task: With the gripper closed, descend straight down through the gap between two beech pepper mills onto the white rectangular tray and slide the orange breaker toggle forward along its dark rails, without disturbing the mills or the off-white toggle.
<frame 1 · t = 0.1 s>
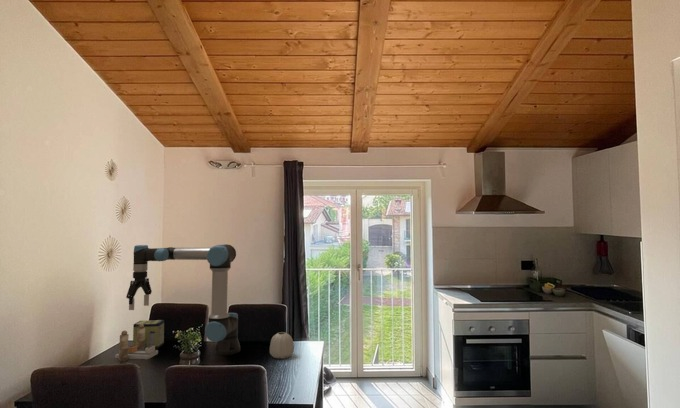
hand: (139, 307, 227), 28 cm above the table, fingers open, 13 cm apart
vase: (281, 357, 223), on the table
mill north: (123, 360, 218), on the table
breaker B: (132, 348, 227), point 4 cm above the table, slide at 0.0 cm
white rectangular tray: (137, 355, 226), on the table
protein box: (148, 347, 244), on the table
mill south: (140, 351, 234), on the table
breaker A: (150, 348, 226), point 4 cm above the table, slide at 0.0 cm
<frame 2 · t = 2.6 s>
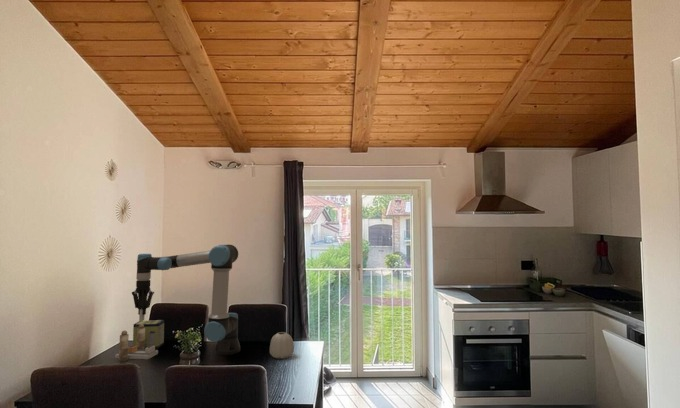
hand: (141, 320, 227), 21 cm above the table, fingers closed
nothing on the table moved.
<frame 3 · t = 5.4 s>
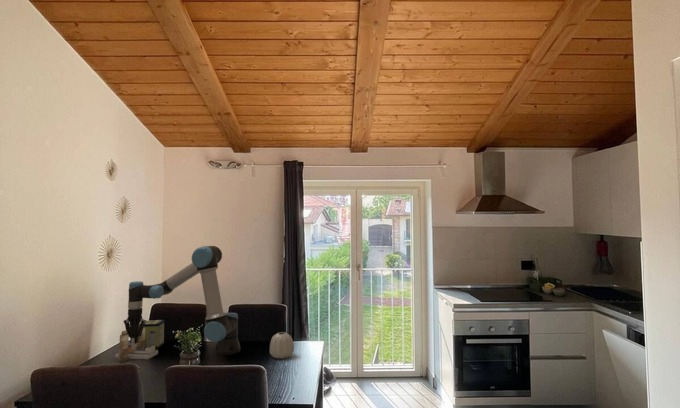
hand: (133, 348, 227), 4 cm above the table, fingers closed
breaker B: (130, 348, 227), point 4 cm above the table, slide at 1.4 cm, touching gripper
everything else where it was.
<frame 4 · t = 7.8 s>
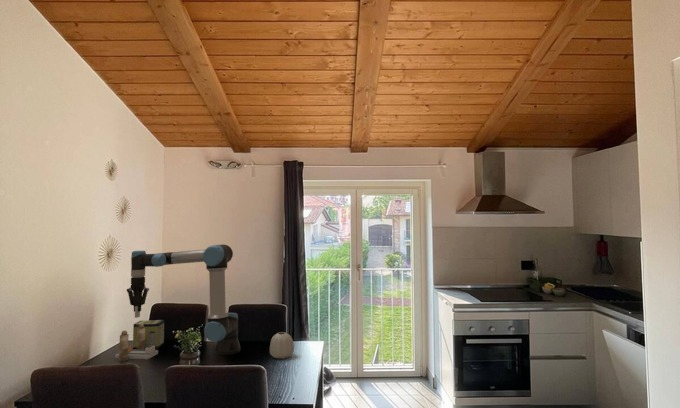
hand: (137, 317, 228), 22 cm above the table, fingers closed
breaker B: (127, 348, 227), point 4 cm above the table, slide at 3.2 cm
everything else where it was.
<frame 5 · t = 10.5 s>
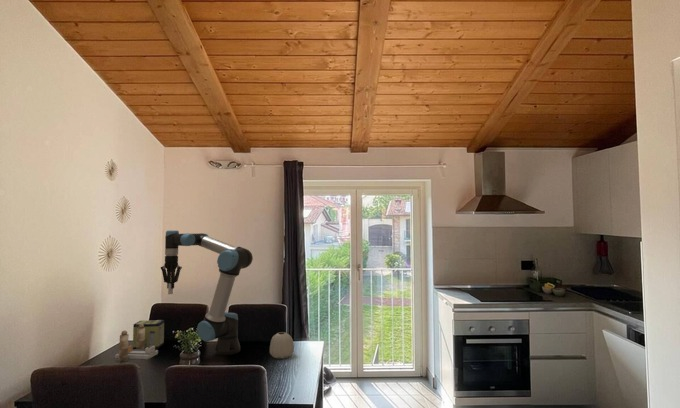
hand: (170, 293, 237), 34 cm above the table, fingers closed
nothing on the table moved.
at the end: breaker B slide at 3.2 cm; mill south moved 0.0 cm from its start; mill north moved 0.0 cm from its start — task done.
